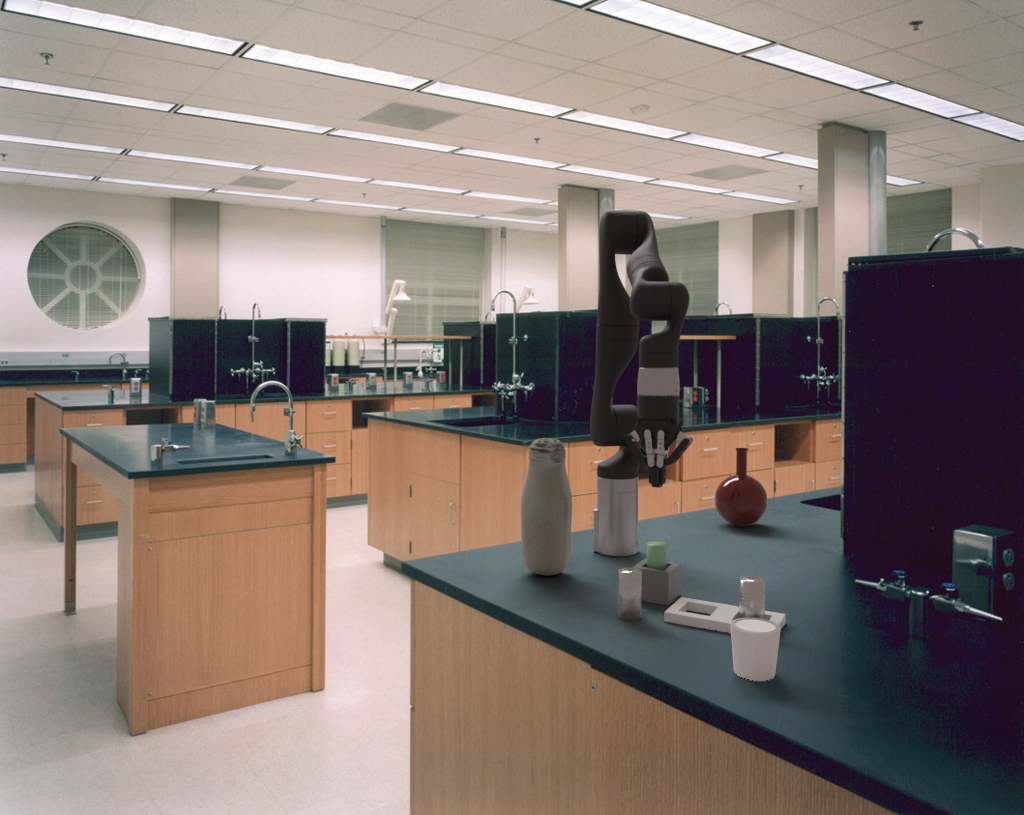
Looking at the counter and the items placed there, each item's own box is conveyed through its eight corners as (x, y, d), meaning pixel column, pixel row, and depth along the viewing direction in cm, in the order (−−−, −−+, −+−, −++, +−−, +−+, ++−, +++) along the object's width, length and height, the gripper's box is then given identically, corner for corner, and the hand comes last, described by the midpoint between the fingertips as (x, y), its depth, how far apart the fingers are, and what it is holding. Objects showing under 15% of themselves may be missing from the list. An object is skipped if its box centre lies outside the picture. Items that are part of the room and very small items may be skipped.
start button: (643, 576, 143) (644, 544, 143) (650, 571, 146) (650, 540, 146) (662, 579, 141) (662, 547, 141) (669, 574, 144) (669, 543, 144)
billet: (614, 617, 133) (614, 572, 133) (623, 610, 137) (623, 566, 136) (636, 621, 131) (636, 575, 131) (644, 614, 135) (645, 569, 134)
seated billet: (736, 628, 128) (737, 581, 127) (742, 621, 131) (743, 574, 131) (761, 633, 126) (762, 584, 125) (766, 625, 129) (767, 578, 129)
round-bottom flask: (706, 520, 206) (707, 445, 205) (754, 519, 208) (755, 444, 206) (725, 532, 193) (726, 452, 192) (776, 530, 195) (777, 451, 193)
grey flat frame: (664, 621, 131) (664, 612, 131) (680, 605, 139) (681, 597, 139) (774, 641, 122) (774, 631, 122) (785, 623, 130) (785, 614, 130)
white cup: (722, 664, 114) (723, 617, 113) (767, 662, 115) (768, 615, 114) (739, 684, 107) (740, 634, 107) (788, 682, 108) (789, 633, 107)
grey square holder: (631, 599, 143) (631, 567, 142) (645, 588, 149) (645, 558, 148) (668, 605, 139) (668, 572, 139) (680, 594, 145) (681, 563, 145)
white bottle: (514, 577, 156) (513, 439, 154) (534, 564, 166) (534, 434, 163) (559, 584, 152) (559, 442, 150) (578, 570, 161) (578, 436, 159)
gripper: (616, 392, 141) (615, 487, 143) (687, 394, 135) (686, 493, 136) (631, 390, 148) (630, 480, 149) (700, 392, 141) (698, 486, 142)
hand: (657, 486), depth 142 cm, fingers closed
